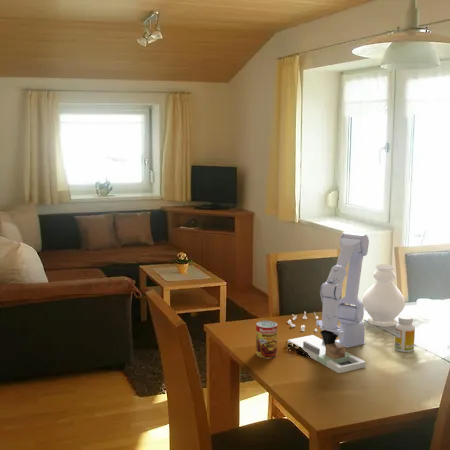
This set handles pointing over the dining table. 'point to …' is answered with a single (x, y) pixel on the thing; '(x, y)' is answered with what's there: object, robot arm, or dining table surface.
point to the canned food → (266, 338)
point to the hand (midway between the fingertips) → (329, 349)
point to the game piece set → (302, 325)
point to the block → (335, 350)
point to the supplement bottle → (404, 334)
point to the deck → (317, 351)
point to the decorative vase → (383, 298)
